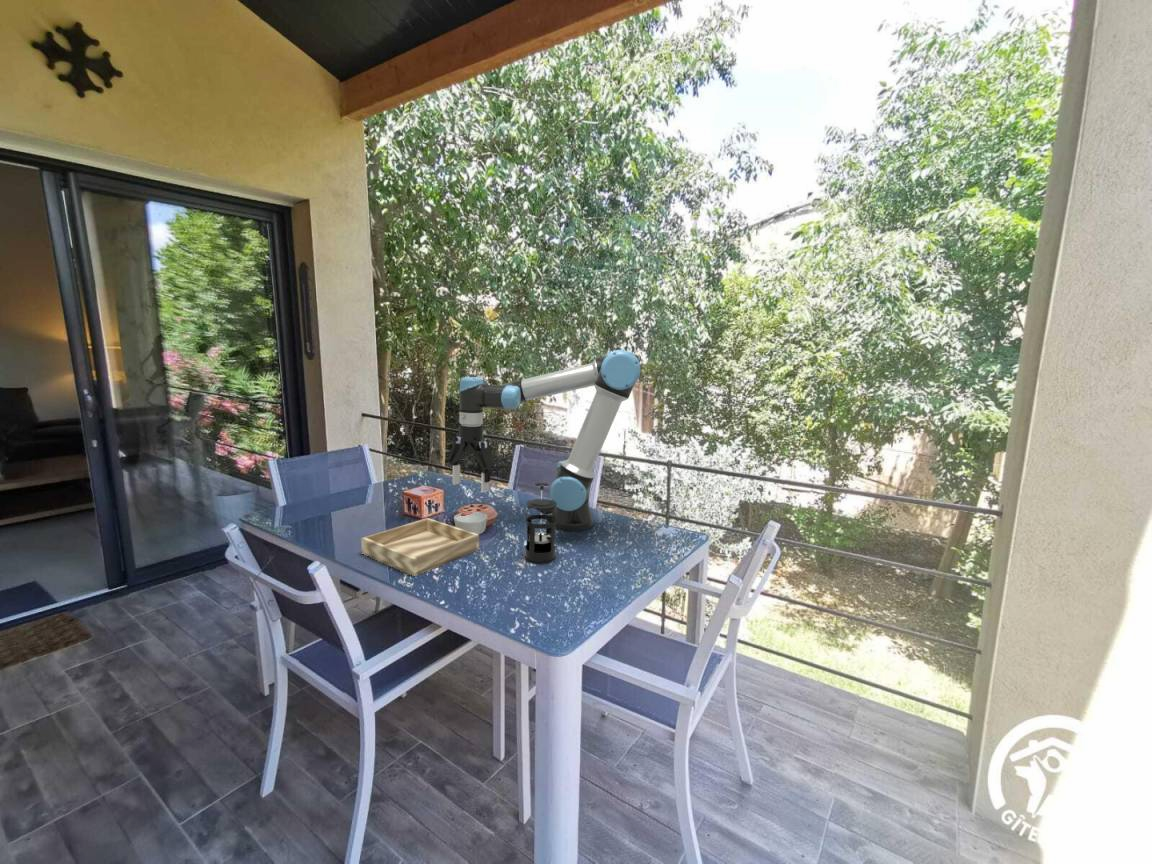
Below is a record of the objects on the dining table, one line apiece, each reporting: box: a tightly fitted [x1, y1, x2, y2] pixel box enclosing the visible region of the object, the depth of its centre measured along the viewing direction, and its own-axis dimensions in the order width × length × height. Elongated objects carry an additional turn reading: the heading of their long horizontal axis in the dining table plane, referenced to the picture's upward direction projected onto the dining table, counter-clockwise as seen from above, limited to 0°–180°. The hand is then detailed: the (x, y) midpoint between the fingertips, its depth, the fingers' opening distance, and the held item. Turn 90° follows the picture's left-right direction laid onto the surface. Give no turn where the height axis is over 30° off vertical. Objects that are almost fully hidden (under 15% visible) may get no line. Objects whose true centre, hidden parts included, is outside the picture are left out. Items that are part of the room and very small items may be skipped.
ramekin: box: [453, 511, 488, 535], centre depth 172 cm, size 11×11×5 cm
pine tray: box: [360, 517, 480, 577], centre depth 153 cm, size 24×24×5 cm
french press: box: [523, 481, 557, 565], centre depth 151 cm, size 12×9×23 cm
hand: (470, 487), depth 170 cm, fingers open, 13 cm apart
